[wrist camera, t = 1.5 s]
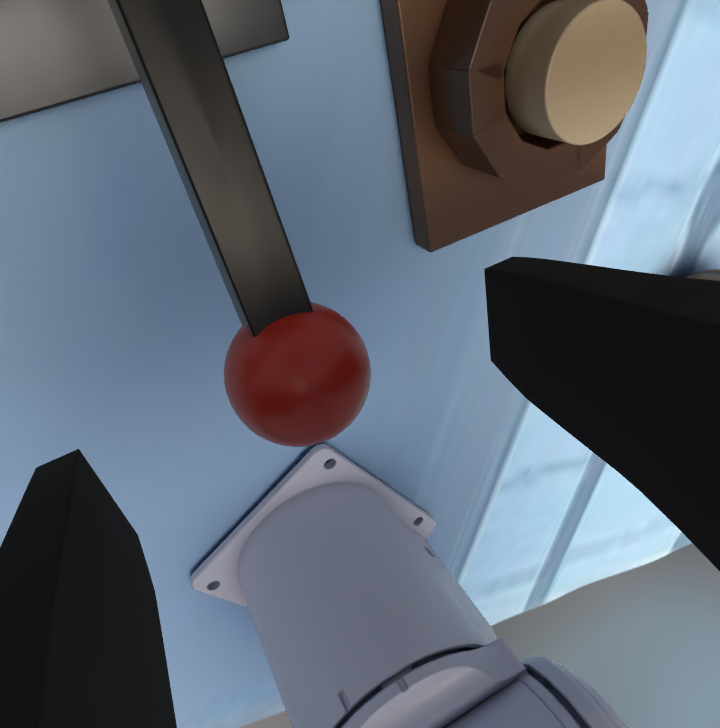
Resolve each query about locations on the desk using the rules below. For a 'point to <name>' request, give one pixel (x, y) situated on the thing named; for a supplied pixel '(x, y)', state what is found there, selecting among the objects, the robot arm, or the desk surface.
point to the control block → (473, 119)
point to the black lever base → (100, 47)
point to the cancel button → (576, 69)
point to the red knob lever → (244, 236)
